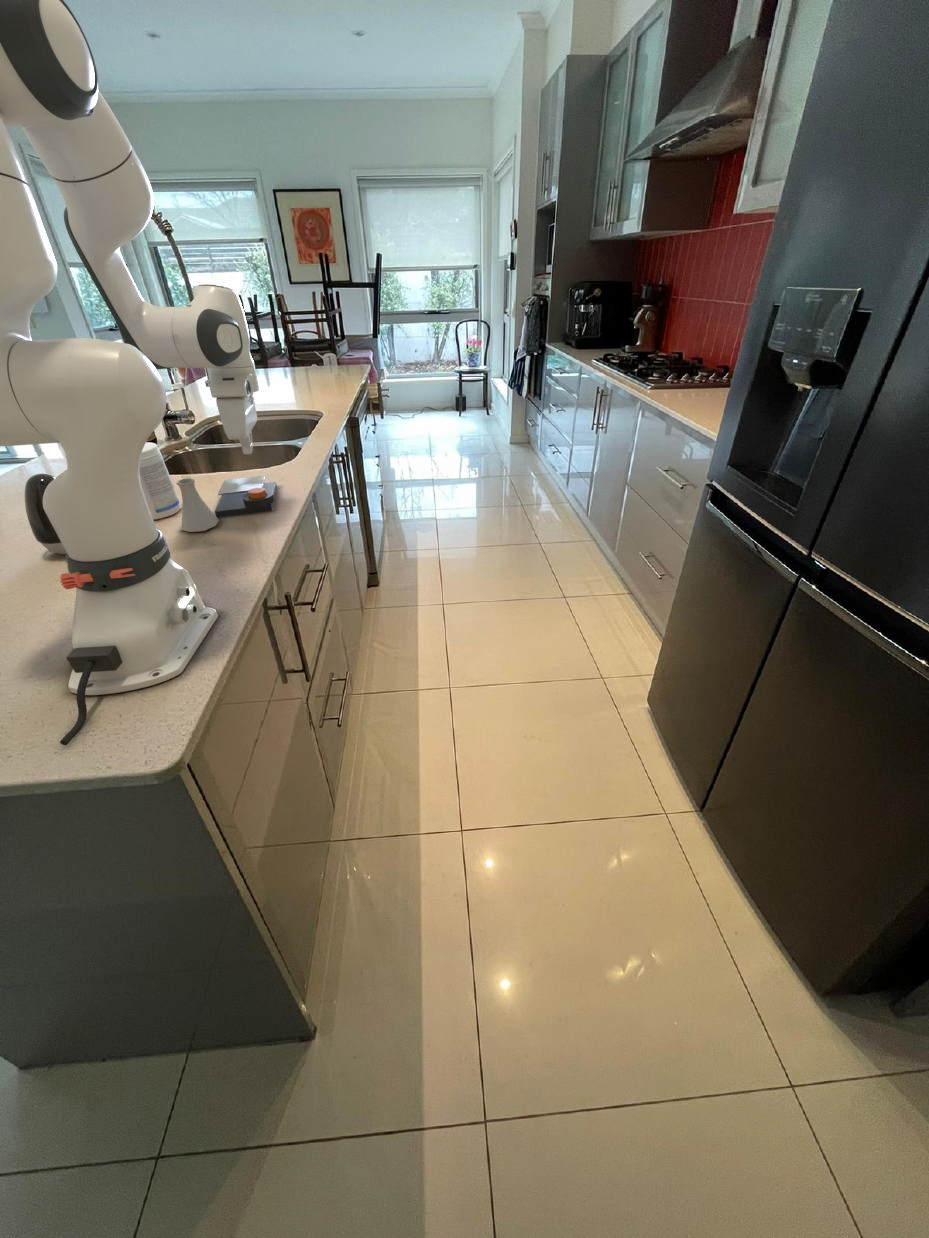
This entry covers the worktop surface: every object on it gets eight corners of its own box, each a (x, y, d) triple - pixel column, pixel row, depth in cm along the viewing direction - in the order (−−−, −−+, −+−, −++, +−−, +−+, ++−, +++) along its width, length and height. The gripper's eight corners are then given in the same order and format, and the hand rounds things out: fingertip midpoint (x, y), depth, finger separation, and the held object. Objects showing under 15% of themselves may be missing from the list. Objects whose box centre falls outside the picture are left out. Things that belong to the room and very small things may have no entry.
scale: (275, 511, 116) (271, 498, 114) (216, 518, 114) (211, 505, 112) (279, 486, 129) (276, 475, 128) (226, 492, 127) (223, 480, 126)
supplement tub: (183, 502, 123) (160, 439, 114) (180, 517, 115) (155, 450, 107) (138, 509, 120) (112, 445, 112) (132, 524, 113) (103, 457, 104)
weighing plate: (261, 490, 119) (261, 489, 119) (218, 495, 117) (217, 493, 117) (265, 477, 127) (265, 475, 126) (224, 481, 125) (224, 480, 125)
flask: (205, 534, 107) (189, 487, 101) (175, 532, 108) (157, 486, 103) (225, 520, 113) (211, 475, 107) (196, 518, 114) (181, 474, 109)
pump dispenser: (115, 544, 105) (81, 470, 96) (59, 565, 98) (17, 487, 89) (91, 533, 109) (57, 462, 101) (36, 552, 102) (-6, 478, 94)
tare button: (266, 498, 115) (264, 492, 115) (249, 500, 115) (247, 494, 114) (267, 493, 118) (265, 486, 118) (251, 495, 118) (249, 488, 117)
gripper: (225, 376, 111) (239, 443, 118) (207, 389, 94) (225, 465, 101) (256, 376, 112) (268, 441, 119) (244, 388, 95) (259, 464, 102)
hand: (248, 453), depth 110 cm, fingers closed
